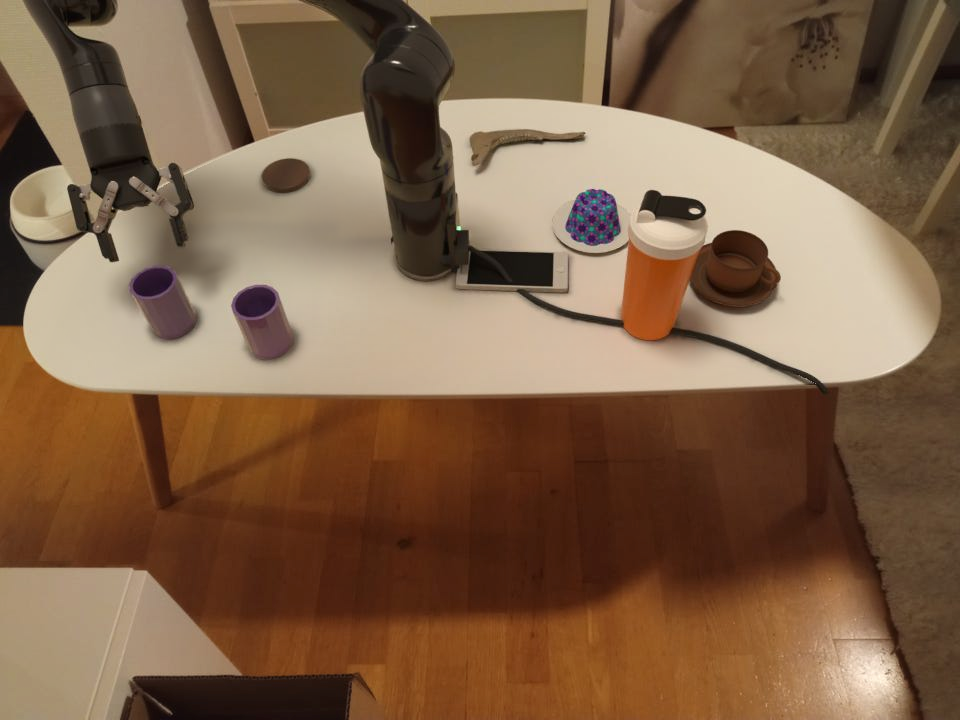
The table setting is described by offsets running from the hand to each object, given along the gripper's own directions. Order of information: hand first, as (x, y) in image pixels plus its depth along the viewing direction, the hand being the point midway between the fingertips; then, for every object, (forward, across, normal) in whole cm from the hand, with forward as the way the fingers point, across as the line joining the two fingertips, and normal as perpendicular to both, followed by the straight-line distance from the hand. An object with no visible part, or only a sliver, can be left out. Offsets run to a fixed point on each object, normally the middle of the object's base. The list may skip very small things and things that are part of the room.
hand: (148, 254), depth 99 cm
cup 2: (+15, +12, -2) cm, 19 cm away
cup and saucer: (+22, +74, -9) cm, 78 cm away
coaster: (-9, +19, +21) cm, 30 cm away
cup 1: (+9, 0, +3) cm, 10 cm away
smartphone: (+14, +46, -1) cm, 49 cm away
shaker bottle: (+24, +61, -11) cm, 66 cm away
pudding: (+11, +61, +2) cm, 62 cm away
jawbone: (-3, +57, +16) cm, 60 cm away
